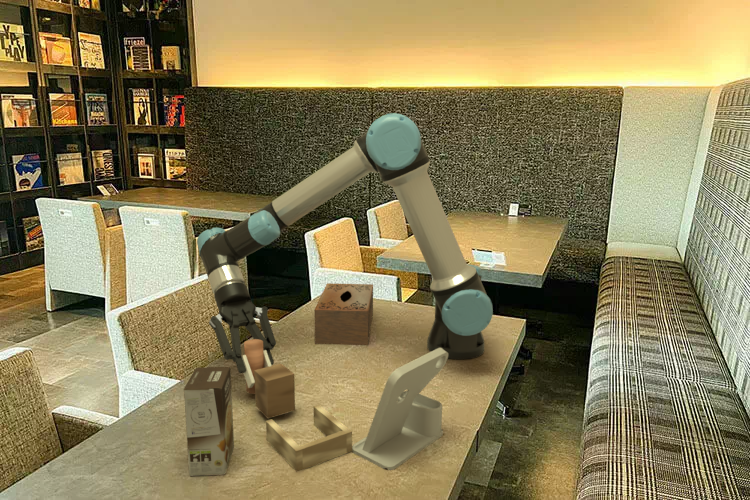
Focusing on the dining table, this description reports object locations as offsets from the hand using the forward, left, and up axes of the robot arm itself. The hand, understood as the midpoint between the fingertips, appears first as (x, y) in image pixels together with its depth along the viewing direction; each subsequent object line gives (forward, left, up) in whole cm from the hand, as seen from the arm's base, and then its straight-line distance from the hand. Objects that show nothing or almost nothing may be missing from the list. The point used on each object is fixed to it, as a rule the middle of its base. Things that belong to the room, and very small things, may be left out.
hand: (262, 382), depth 122 cm
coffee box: (+9, +20, -5) cm, 23 cm away
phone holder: (-26, +20, -5) cm, 33 cm away
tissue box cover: (-23, -43, -5) cm, 49 cm away
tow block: (-1, +2, -3) cm, 4 cm away
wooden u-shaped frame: (-8, +18, -5) cm, 20 cm away
